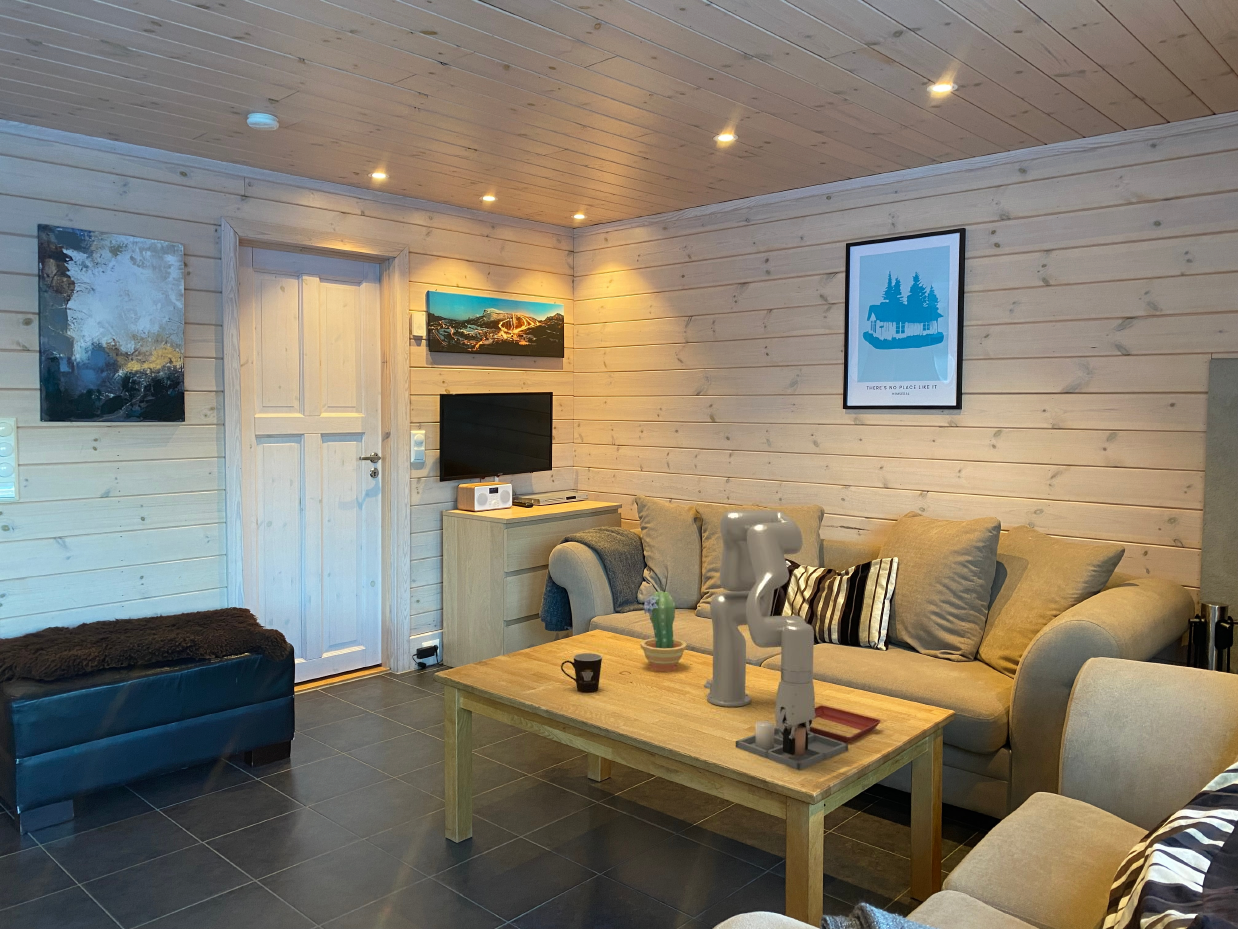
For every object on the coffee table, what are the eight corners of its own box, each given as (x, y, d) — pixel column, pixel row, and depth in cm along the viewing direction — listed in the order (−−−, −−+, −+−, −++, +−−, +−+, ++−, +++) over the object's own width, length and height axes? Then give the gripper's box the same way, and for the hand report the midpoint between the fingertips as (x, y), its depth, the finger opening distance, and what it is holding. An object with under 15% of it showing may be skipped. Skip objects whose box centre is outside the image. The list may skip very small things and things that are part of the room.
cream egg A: (751, 747, 226) (751, 723, 225) (763, 743, 229) (763, 719, 228) (766, 752, 222) (766, 728, 222) (777, 748, 225) (778, 724, 225)
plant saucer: (882, 731, 241) (882, 719, 241) (849, 749, 228) (849, 736, 228) (820, 716, 253) (821, 704, 253) (786, 732, 240) (786, 720, 240)
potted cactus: (640, 661, 307) (640, 587, 306) (686, 661, 307) (687, 588, 305) (639, 673, 292) (640, 596, 291) (687, 674, 291) (688, 597, 290)
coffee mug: (606, 687, 277) (606, 655, 276) (594, 695, 269) (594, 662, 268) (572, 682, 282) (572, 650, 281) (559, 690, 274) (559, 657, 273)
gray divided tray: (735, 750, 226) (735, 741, 226) (784, 732, 239) (784, 723, 239) (799, 773, 211) (799, 763, 211) (847, 753, 224) (847, 744, 224)
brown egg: (781, 752, 219) (782, 727, 218) (793, 747, 222) (794, 723, 221) (797, 757, 215) (797, 732, 215) (809, 753, 218) (809, 728, 218)
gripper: (805, 665, 226) (803, 738, 227) (761, 678, 215) (760, 754, 216) (830, 672, 220) (829, 746, 221) (787, 685, 209) (786, 764, 210)
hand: (795, 750), depth 218 cm, fingers closed on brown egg, 4 cm apart
